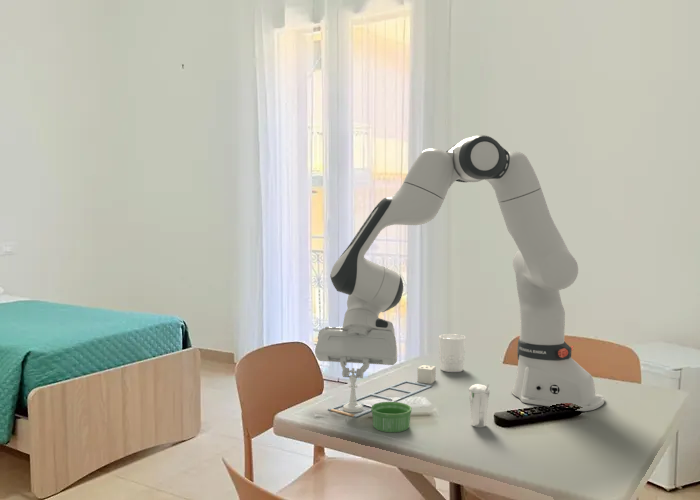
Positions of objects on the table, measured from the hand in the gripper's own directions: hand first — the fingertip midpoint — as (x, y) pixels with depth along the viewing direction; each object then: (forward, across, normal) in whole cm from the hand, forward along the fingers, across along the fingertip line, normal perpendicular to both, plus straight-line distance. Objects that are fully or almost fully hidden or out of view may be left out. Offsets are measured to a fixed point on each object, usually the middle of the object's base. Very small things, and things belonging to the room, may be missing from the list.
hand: (352, 376), depth 156 cm
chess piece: (+5, 0, +7) cm, 8 cm away
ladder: (-2, +6, +14) cm, 15 cm away
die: (-15, +16, +27) cm, 34 cm away
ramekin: (+13, +11, -1) cm, 17 cm away
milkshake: (+9, +30, +2) cm, 31 cm away
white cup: (-25, +22, +36) cm, 49 cm away
